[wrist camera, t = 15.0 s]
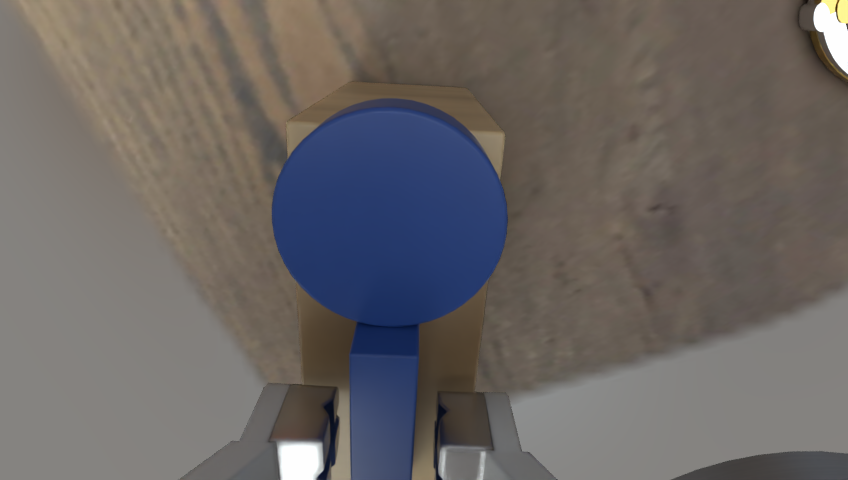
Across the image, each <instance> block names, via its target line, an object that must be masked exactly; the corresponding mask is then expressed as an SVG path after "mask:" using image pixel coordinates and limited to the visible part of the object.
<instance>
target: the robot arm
mask: <svg viewBox="0 0 848 480" xmlns="http://www.w3.org/2000/svg"><path fill="white" fill-rule="evenodd" d="M338 406H339V389H338V387H333V386H317V385H302V384H292V385H291V384H279V383H268V384H267V385H266V386H265V387H264V388H263V390H262V393H261V395H260V397H259V399H258V402H257V404H256V406H255V408H254V410H253V413H252V415H251V417H250V419H249V421H248V423H247V425H246V428H245V430H244V432H243V434H242V436H241V438H240V441H231V442H230V443H229V444H227V445H226V446H224V447H223V448H222V449H220V450H219V451H217V452H216V453H215V454H214V455H212V456H211V457H209V458H208V459H206V460H205V461H204V462H202V463H201V464H199V465H198V466H197V467H195V468H194V469H193V470H191V471H190V472H188V473H187V474H186V475H184V476H183V477H181V478H180V479H179V480H331V467H333V466H334V465H335V463H336V458H337V453H338V445H339V435H340V417H339V416H338V415H337V410H338ZM433 468H434V469H435V477H434V480H557V479H556V478H555V477H554V476H553V475H552V474H551V473H550V472H549V471H548V470H547V469H546V468H545V467H544V466H543V465H542V464H541V463H540V462H539V461H538V460H537V459H536V458H535V457H534V456H533V455H532V454H530V453H529V452H522V450H521V446H520V441H519V437H518V433H517V429H516V425H515V421H514V417H513V413H512V409H511V404H510V400H509V396H508V395H507V393H506V392H483V393H482V392H457V391H437V398H436V420H435V423H434V441H433Z"/></svg>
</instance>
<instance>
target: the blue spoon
mask: <svg viewBox="0 0 848 480" xmlns="http://www.w3.org/2000/svg"><path fill="white" fill-rule="evenodd" d="M507 223H508V215H507V203H506V199H505V194H504V190H503V187H502V184H501V182H500V179H499V177H498V174H497V172H496V171H495V169H494V167H493V165H492V163H491V161H490V159H489V158H488V156H487V154H486V152H485V150H484V148H483V147H482V146H481V144H480V143H479V142H478V140H477V139H476V137H475V136H474V135H473V134H472V133H471V132H470V131H469V130H468V129H467V128H466V127H465V126H464V125H463V124H461V123H460V122H459V121H457V120H456V119H455V118H454V117H452V116H450V115H449V114H447V113H445V112H443V111H442V110H440V109H437V108H435V107H433V106H430V105H428V104H425V103H421V102H417V101H413V100H407V99H399V98H381V99H375V100H368V101H364V102H361V103H357V104H354V105H351V106H349V107H347V108H345V109H342V110H340V111H338V112H337V113H335V114H334V115H332V116H331V117H329V118H327V119H326V120H325V121H324V122H323V123H321V124H320V125H319V126H318V127H317V128H316V129H314V130H313V131H312V132H311V133H310V134H309V135H308V136H306V137H305V138H304V139H303V140H302V141H301V142H300V143H299V144H298V146H297V147H296V148H295V149H294V150H293V151H292V153H291V154H290V156H289V158H288V159H287V161H286V162H285V164H284V166H283V168H282V170H281V172H280V175H279V177H278V180H277V183H276V187H275V190H274V195H273V203H272V224H273V231H274V237H275V240H276V244H277V247H278V250H279V253H280V255H281V257H282V259H283V262H284V264H285V265H286V267H287V269H288V270H289V272H290V274H291V275H292V277H293V278H294V279H295V280H296V282H297V283H298V284H299V285H300V287H301V288H302V289H303V290H304V291H305V292H306V293H307V294H309V295H310V296H311V297H312V298H313V299H314V300H316V301H317V302H318V303H320V304H321V305H322V306H324V307H326V308H327V309H329V310H331V311H332V312H334V313H336V314H338V315H340V316H343V317H345V318H347V319H350V320H353V321H356V322H357V323H356V327H355V332H354V336H353V340H352V345H351V349H350V353H349V385H350V464H351V480H412V471H413V454H414V437H415V420H416V402H417V385H418V368H419V327H420V324H422V323H426V322H429V321H432V320H435V319H438V318H440V317H443V316H445V315H447V314H449V313H451V312H453V311H454V310H456V309H457V308H459V307H460V306H462V305H463V304H465V303H466V302H467V301H468V300H470V299H471V298H472V297H473V296H474V295H475V294H476V293H477V292H478V291H479V290H480V289H481V288H482V287H483V285H484V284H485V283H486V282H487V280H488V279H489V277H490V276H491V274H492V273H493V271H494V269H495V267H496V265H497V263H498V262H499V260H500V257H501V254H502V251H503V248H504V244H505V240H506V235H507Z"/></svg>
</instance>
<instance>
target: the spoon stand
mask: <svg viewBox="0 0 848 480" xmlns="http://www.w3.org/2000/svg"><path fill="white" fill-rule="evenodd" d="M381 98H399V99H407V100H413V101H417V102H421V103H425V104H428V105H430V106H433V107H435V108H437V109H440V110H442V111H443V112H445V113H447V114H449V115H450V116H452V117H454V118H455V119H456V120H457V121H459V122H460V123H461V124H463V125H464V126H465V127H466V128H467V129H468V130H469V131H470V132H471V133H472V134H473V135H474V136H475V137H476V139H477V140H478V142H479V143H480V144H481V146H482V147H483V148H484V150H485V152H486V154H487V156H488V158H489V159H490V161H491V163H492V165H493V167H494V169H495V171H496V172H497V174H498V177H499V179H501V170H502V162H503V153H504V145H505V137H506V136H505V133H504V132H503V130H502V129H501V128H500V127H499V126H498V124H497V123H496V122H495V121H494V120H493V118H492V117H491V116H490V115H489V114H488V113H487V111H486V110H485V109H484V108H483V107H482V105H481V104H480V103H479V102H478V101H477V99H476V98H475V97H474V96H473V95H472V93H471V92H470V91H469V90H468V89H467V88H460V87H442V86H423V85H405V84H387V83H368V82H349V83H347V84H346V85H344V86H342V87H341V88H339V89H338V90H336V91H334V92H333V93H331V94H330V95H328V96H326V97H325V98H323V99H322V100H320V101H319V102H317V103H315V104H314V105H312V106H311V107H309V108H307V109H306V110H304V111H303V112H301V113H299V114H298V115H296V116H295V117H293V118H291V119H290V120H288V121H287V123H286V138H287V154H288V158H289V156H290V154H291V153H292V151H293V150H294V149H295V148H296V147H297V146H298V144H299V143H300V142H301V141H302V140H303V139H304V138H305V137H306V136H308V135H309V134H310V133H311V132H312V131H313V130H314V129H316V128H317V127H318V126H319V125H320V124H321V123H323V122H324V121H325V120H326V119H327V118H329V117H331V116H332V115H334V114H335V113H337V112H338V111H340V110H342V109H345V108H347V107H349V106H351V105H354V104H357V103H361V102H364V101H368V100H375V99H381ZM295 281H296V280H295ZM487 287H488V280H487V282H486V283H485V284H484V285H483V287H482V288H481V289H480V290H479V291H478V292H477V293H476V294H475V295H474V296H473V297H472V298H471V299H470V300H468V301H467V302H466V303H465V304H463V305H462V306H460V307H459V308H457V309H456V310H454V311H453V312H451V313H449V314H447V315H445V316H443V317H440V318H438V319H435V320H432V321H429V322H426V323H422V324H420V327H419V368H418V385H417V402H416V420H415V437H414V454H413V471H412V480H434V477H435V469H434V468H433V441H434V423H435V420H436V398H437V391H457V392H475V387H476V379H477V370H478V362H479V354H480V345H481V337H482V329H483V320H484V312H485V304H486V295H487ZM296 297H297V313H298V329H299V345H300V361H301V377H302V385H317V386H333V387H338V389H339V406H338V410H337V415H338V416H339V417H340V435H339V445H338V453H337V458H336V463H335V465H334V466H333V467H331V480H351V464H350V385H349V353H350V349H351V345H352V340H353V336H354V332H355V327H356V323H357V322H356V321H353V320H350V319H347V318H345V317H343V316H340V315H338V314H336V313H334V312H332V311H331V310H329V309H327V308H326V307H324V306H322V305H321V304H320V303H318V302H317V301H316V300H314V299H313V298H312V297H311V296H310V295H309V294H307V293H306V292H305V291H304V290H303V289H302V288H301V287H300V285H299V284H298V283H297V282H296Z"/></svg>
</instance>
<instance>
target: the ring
mask: <svg viewBox="0 0 848 480" xmlns="http://www.w3.org/2000/svg"><path fill="white" fill-rule="evenodd" d="M846 23H848V0H808V3H807V4H804V5H803V6H802V7H801V9H800V11H799V24H800V27H801V28H802V29H803V30H804V31H809V32H810V36H811V40H812V43H813V45H814V48H815V50H816V52H817V54H818V56H819V57H820V59H821V60H822V62H823V63H824V64H825V66H826V67H827V68H828V69H829V70H830V71H831V72H832V73H833V74H835V75H836V76H837V77H839V78H840V79H842V80H844V81H846V82H848V31H847V28H846Z"/></svg>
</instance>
